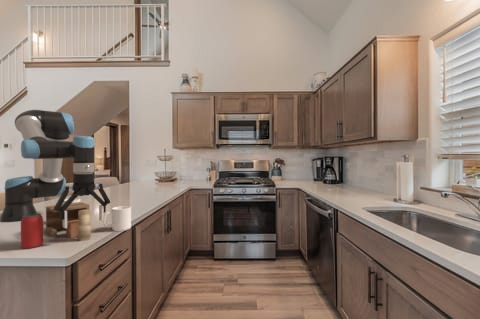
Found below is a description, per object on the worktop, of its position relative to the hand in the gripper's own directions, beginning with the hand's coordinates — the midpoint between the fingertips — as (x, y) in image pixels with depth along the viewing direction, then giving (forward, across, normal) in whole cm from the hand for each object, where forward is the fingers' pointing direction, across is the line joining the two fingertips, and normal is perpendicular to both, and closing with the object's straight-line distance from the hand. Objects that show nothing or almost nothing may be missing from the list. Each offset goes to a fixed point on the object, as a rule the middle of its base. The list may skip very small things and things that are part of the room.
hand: (84, 223), depth 102 cm
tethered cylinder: (+6, 0, +4) cm, 8 cm away
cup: (+7, +15, +2) cm, 17 cm away
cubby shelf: (+7, 0, +18) cm, 20 cm away
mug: (+7, +5, +34) cm, 36 cm away
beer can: (+7, -16, +6) cm, 18 cm away
